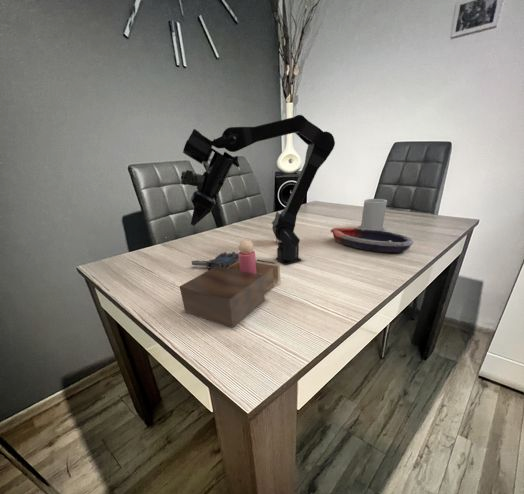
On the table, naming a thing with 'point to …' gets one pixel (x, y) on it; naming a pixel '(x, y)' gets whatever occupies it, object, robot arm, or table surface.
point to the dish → (372, 239)
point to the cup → (373, 214)
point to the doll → (247, 257)
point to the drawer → (264, 272)
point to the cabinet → (223, 295)
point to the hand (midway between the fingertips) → (194, 221)
